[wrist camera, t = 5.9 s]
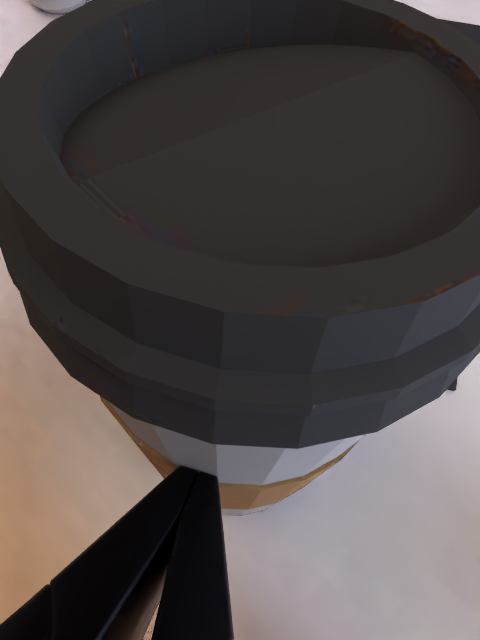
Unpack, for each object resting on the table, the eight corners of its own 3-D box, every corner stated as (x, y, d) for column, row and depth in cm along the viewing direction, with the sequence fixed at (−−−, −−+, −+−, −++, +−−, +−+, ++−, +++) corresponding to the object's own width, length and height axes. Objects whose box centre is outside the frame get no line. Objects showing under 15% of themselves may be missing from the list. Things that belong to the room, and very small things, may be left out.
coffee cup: (98, 411, 19) (-139, 29, 6) (254, 320, 22) (311, -69, 9) (203, 599, 15) (155, 607, 3) (373, 462, 18) (732, 156, 6)
